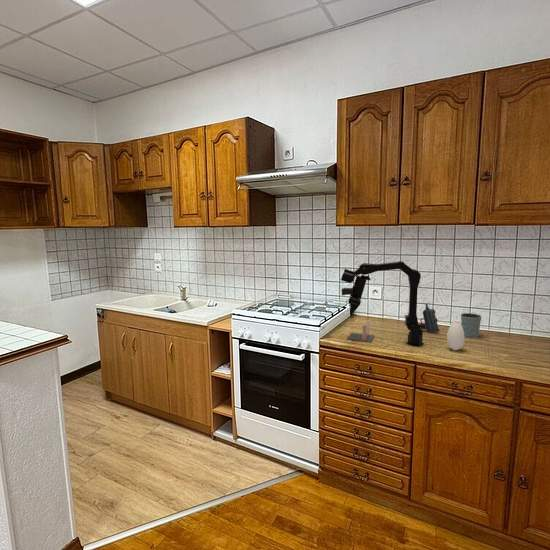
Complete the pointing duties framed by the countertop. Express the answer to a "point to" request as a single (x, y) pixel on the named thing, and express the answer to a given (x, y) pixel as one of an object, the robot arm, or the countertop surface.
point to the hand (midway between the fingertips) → (351, 312)
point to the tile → (365, 330)
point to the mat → (360, 337)
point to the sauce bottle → (455, 335)
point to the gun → (429, 320)
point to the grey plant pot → (470, 324)
